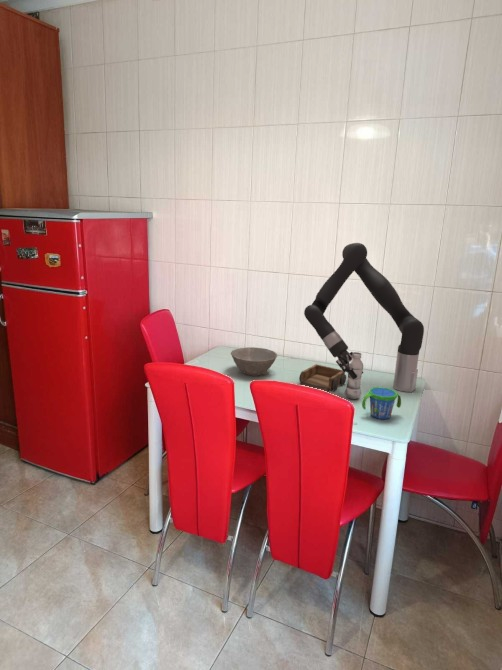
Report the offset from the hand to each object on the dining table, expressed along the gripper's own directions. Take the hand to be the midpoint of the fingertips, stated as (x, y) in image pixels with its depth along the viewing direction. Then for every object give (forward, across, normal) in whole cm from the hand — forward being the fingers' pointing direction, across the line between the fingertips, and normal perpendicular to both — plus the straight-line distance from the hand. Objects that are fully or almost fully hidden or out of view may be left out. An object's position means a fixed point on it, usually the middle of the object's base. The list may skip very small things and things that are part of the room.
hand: (358, 376), depth 196 cm
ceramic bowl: (-30, -1, +45) cm, 54 cm away
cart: (-7, +5, +21) cm, 23 cm away
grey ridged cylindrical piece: (+6, 0, +9) cm, 11 cm away
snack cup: (+18, -11, -3) cm, 21 cm away
